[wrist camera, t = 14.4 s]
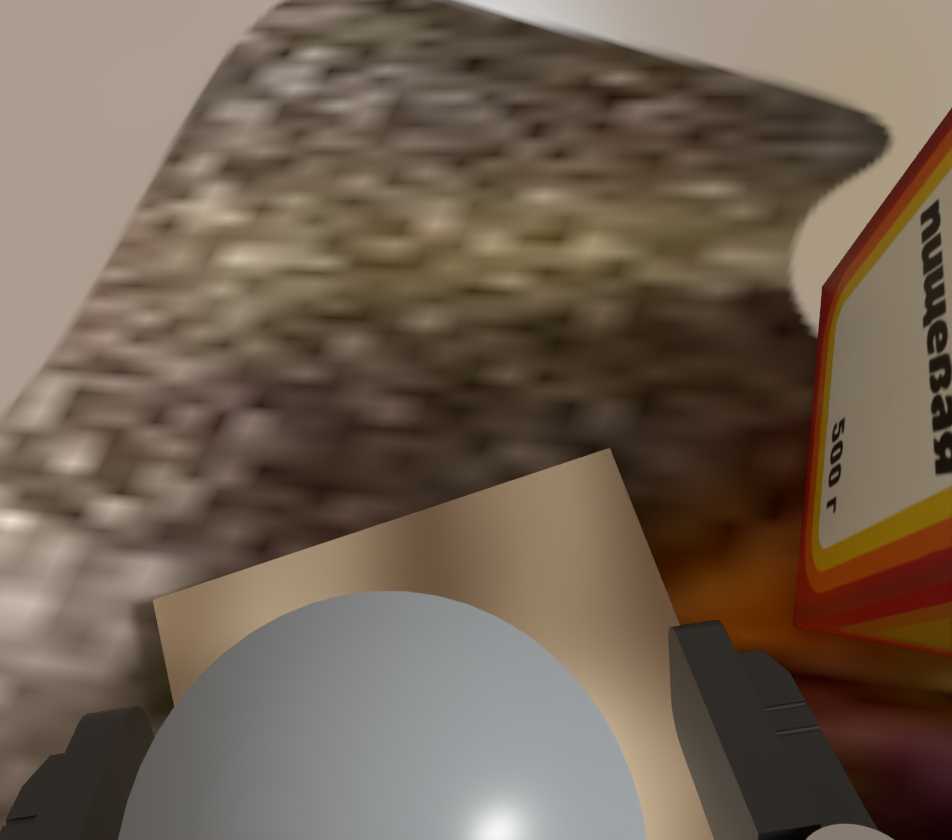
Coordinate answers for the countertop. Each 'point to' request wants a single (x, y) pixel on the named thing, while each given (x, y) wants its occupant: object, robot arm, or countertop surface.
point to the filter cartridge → (385, 735)
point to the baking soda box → (885, 425)
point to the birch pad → (497, 604)
